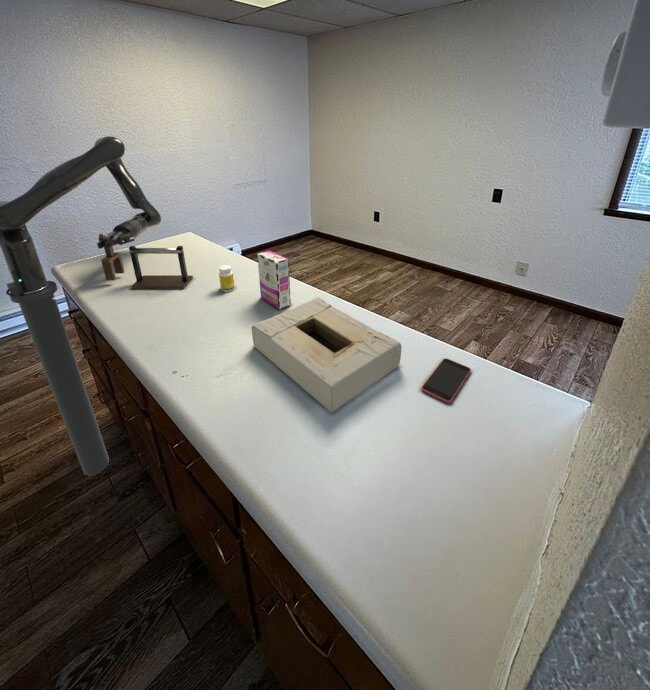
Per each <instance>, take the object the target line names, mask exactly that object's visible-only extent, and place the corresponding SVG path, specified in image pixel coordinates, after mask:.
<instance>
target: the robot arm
mask: <svg viewBox="0 0 650 690" xmlns="http://www.w3.org/2000/svg"><path fill="white" fill-rule="evenodd" d="M125 153H126V147H125V144H124V143H123V141H122V140H121V139H120V138H118V137H116V136H111V135H109V136H108V135H107V136H103V137H99V138H98V139H97V140H95V142H94V144H93V146H92V147H91V148H90V149H89V150H87V151H86V152H84V153H83V154H81V155H78V156H76V157H73V158H71V159H69V160H66V161H64V162H63V163H61V164H59V165H57V166H56V167H54V168H52V169H51V170H48V171H47V172H46V173H44V174H43V175H42V176H40V178H38V180H37V181H36V182H35V183H34V184H33V185H32V186H31V187H30V189H28V190H27V191H26V192H25V193H22V194H21V195H19V196H17V197H16V198H14V199H12V200H10V201H9V200H8V201H7V200H0V250H1V253H2V255H3V258H4V261H5V263H6V266H7V272H8V273H9V276H10V279H11V282H8V283H5V284H6V288H7V290H6V291H5V294H6V295H7V296H9V295H10V296H14V295H15V294H17V293H18V294H19V296H22V295H28V294H34V293H37V292H40V291H42V290H44V289H46V288H47V287H48V286H49V285H48V283H47V281H48V279H47V277H46V275H45V272H44V269H43V266H42V263H41V260H40V257H39V254H38V251H37V248H36V246H35V245H36V244H35V242H34V240H33V237H32V235H31V233H30V232H29V230H28V228H27V225H26V224H27V223H29V222H30V221H31V220H32V219H33V218H34V217H35V216H37V215H38V214H39V213H40V212H42V211H43V210H44V209H45V208H47V207H49V206H51V205H52V204H54V203H55V202H57V201H59V200H60V199H61V198H64V197H65V196H66V195H68V194H70V193H71V192H72V191H74V190H76V189H77V188H78V187H80V186H81V185H83V184H84V183H85V182H86V181H87V180H89V179H90V178H91V177H93V176H94V175H95V174H96V173H97V172H99V171H100V170H101V169H104V168H106V169H107V170H108V172H109V173H110V174H111V176H112V177H113V178H114V180H115V181H116V184H117V185H118V187H119V188H120V190H121V191H122V193H123V195H124V197H125V199H126V201H127V202H128V204H129V206H130V207H131V209H134V210H142V211H141V212H138V213H136V214H134V215H133V216H132V218H130V219H127V220H124V221H123V222H121V223H119V224H117V225H115V226H114V227H113V229H112V230H111V232H109V233H107V234H106V235H105V234H103V233H99V235H98V242H97V243H96V245H97V248H98V249H99V250H100V249H101V250H102V249H104V245H103V241H102V239H103V238H104V237H110V238H111V240H109V241H107V242H106V243H105V247H106V249H109V248H110V247H112V246H113V247H114V246H117V245H119V246H123V245H124V244H129V243H131V242H135V240H136V238H138V237H139V236H140V235H141V234H143V233H144V232H146V231H147V229H148V228H152V227H155V226H158V225H160V224H161V222H162V216H161V214H160V213H159V211H158V210H157V209H156V208H155V206H154V205H153V204H152V203H151V202H150V201H149V200H148V198H147V197H146V195H145V193H144V191H143V190H142V187H140V185H139V183H138V181H136V180H135V178H134V177H133V176H132V175H131V173H130V172H129V171H128V169H127V168H126V166H125V164H124V162H123V160H122V157H123V156H125V155H124V154H125ZM10 293H11V294H10ZM10 296H9V297H10Z"/></svg>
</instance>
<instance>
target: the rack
mask: <svg viewBox="0 0 650 690" xmlns="http://www.w3.org/2000/svg"><path fill="white" fill-rule="evenodd" d="M183 246H184V245H178V246H176V247H137V246H136V245H130V246H129V247H128V250H129V255H130V259H131V263H132V269H133V272H134V276H135V282H134V283H133V284H132V285H131V286H130V288H131V290H185V289H186V288H187V286H188V285H189V284H190V283H191V281H192V280H193V279H194V278H193V277H194V276H193V275H188V269H187V264H186V258H185V251H184V247H183ZM142 254H146V255H147V254H149V255H151V254H152V255H153V254H155V255H157V254H158V255H163V254H164V255H165V254H166V255H167V254H169V255H177V258H178V263H179V269H180V275H175V274H174V275H173V274H172V275H171V274H170V275H168V274H167V275H166V274H165V275H154V274H153V275H151V274H150V275H149V274H148V275H143V273H142V269H141V265H140V261H139V257H138V255H142Z"/></svg>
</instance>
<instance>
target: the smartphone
mask: <svg viewBox="0 0 650 690" xmlns="http://www.w3.org/2000/svg"><path fill="white" fill-rule="evenodd" d="M471 370H472V369H471V368H470V367H468V366H466V365H464V364H461V363H458V362H456V361H454V360H452V359H449V358H443V359H442V360H441V362H439V364H438V365H437V366H436V368H435V369H434V370H433V371H432V373H431V374H430V376H429V377H428V378H427V379H426V380H425V382H424V383H423V384H422V385H421V391H423V392H424V393H426V394H427V395H429V396H432V397H434V398H436V399H438V400H440V401H443V402H445V403H446V404H447V403H448V404H450V403H452V401H453V400H454V399H455V396H456V395H457V394H458V393H459V391H460V389H461V387H462V385H463V384H464V382H465V381H466V379H467V378H468V376H469V375H470V373H471Z"/></svg>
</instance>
